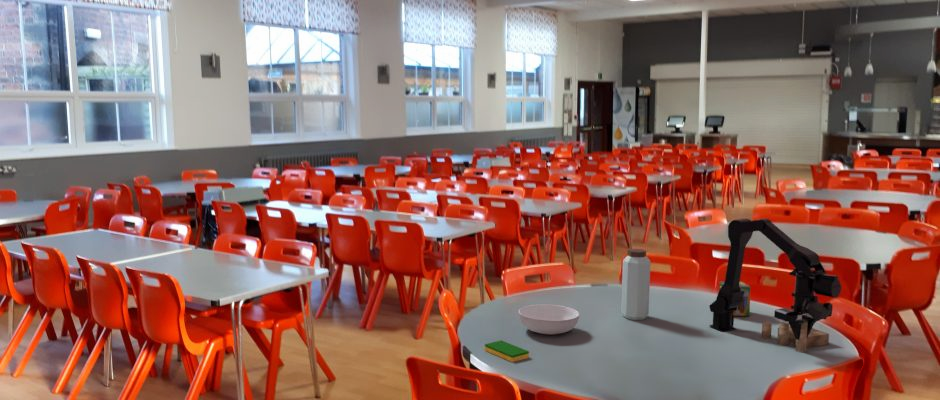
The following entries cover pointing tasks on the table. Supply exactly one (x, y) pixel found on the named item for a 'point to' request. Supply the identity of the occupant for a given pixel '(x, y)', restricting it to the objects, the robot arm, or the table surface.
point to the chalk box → (745, 305)
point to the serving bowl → (548, 318)
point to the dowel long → (802, 338)
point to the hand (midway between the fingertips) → (801, 338)
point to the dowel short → (766, 330)
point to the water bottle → (635, 285)
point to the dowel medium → (783, 333)
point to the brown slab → (810, 337)
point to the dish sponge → (506, 351)
